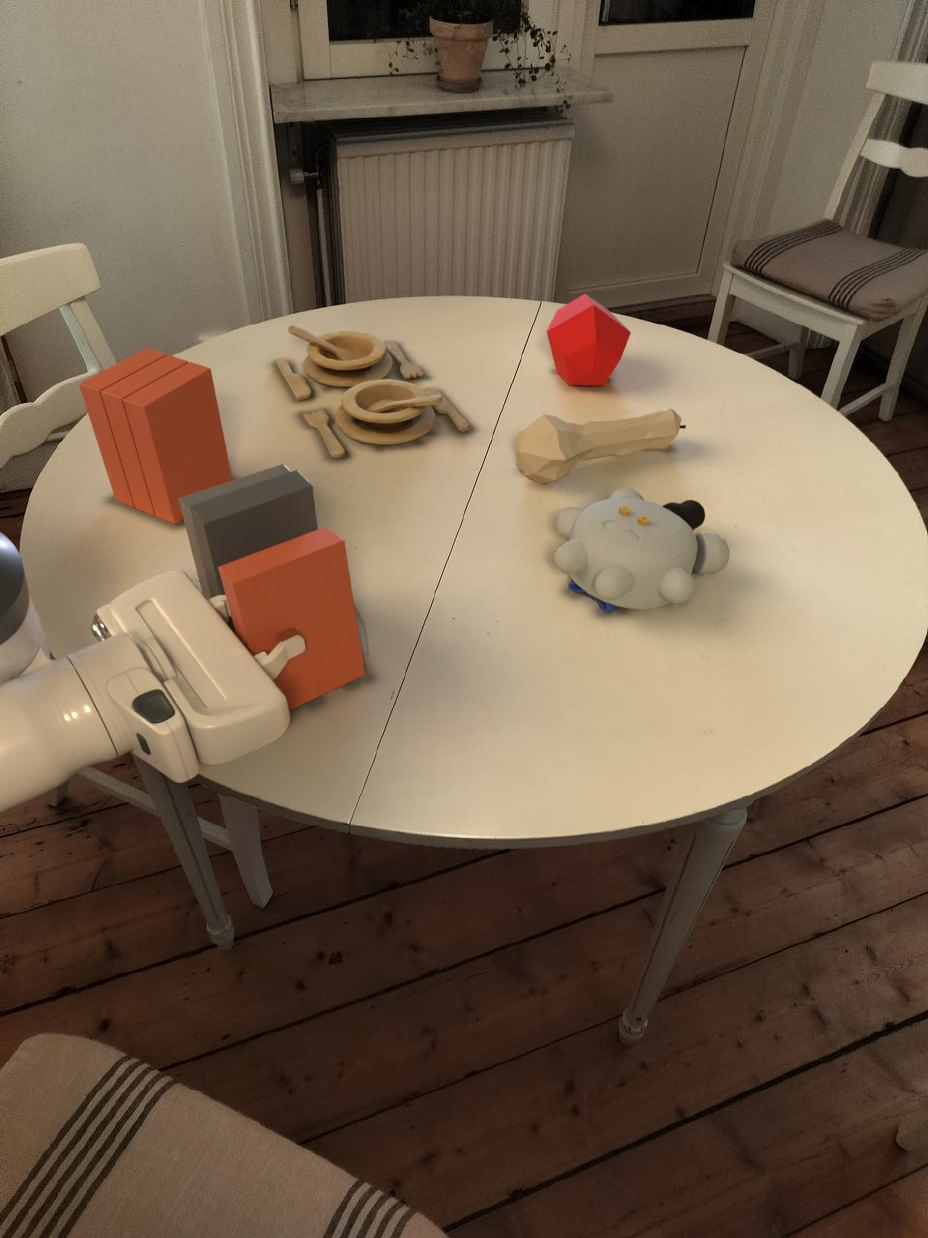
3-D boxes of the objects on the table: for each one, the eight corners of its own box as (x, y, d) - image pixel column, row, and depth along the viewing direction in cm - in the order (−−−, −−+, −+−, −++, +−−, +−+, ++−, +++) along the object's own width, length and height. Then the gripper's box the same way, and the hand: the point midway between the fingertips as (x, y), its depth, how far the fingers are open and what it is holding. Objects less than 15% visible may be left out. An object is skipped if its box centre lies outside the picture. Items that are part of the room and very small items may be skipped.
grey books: (236, 667, 79) (203, 523, 68) (211, 630, 83) (175, 488, 71) (329, 626, 84) (313, 485, 72) (302, 593, 87) (281, 453, 75)
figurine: (639, 655, 81) (746, 583, 93) (661, 585, 76) (771, 518, 87) (512, 570, 90) (624, 514, 102) (523, 502, 85) (640, 451, 96)
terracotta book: (268, 720, 74) (232, 583, 65) (254, 702, 76) (217, 566, 67) (365, 674, 78) (344, 539, 69) (350, 658, 80) (327, 525, 71)
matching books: (175, 524, 95) (144, 406, 85) (115, 500, 98) (78, 383, 88) (233, 482, 101) (210, 367, 91) (175, 460, 105) (147, 347, 94)
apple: (541, 400, 121) (533, 335, 129) (623, 405, 122) (610, 340, 130) (557, 331, 111) (547, 265, 119) (645, 337, 112) (630, 271, 121)
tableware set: (472, 432, 111) (473, 391, 107) (331, 462, 105) (327, 421, 101) (392, 340, 131) (391, 303, 127) (270, 361, 125) (264, 323, 121)
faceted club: (495, 456, 106) (657, 425, 114) (524, 506, 102) (688, 470, 111) (511, 403, 98) (682, 375, 107) (542, 455, 94) (717, 422, 103)
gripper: (92, 642, 74) (234, 582, 80) (190, 799, 63) (347, 714, 69) (71, 589, 70) (223, 530, 76) (172, 747, 58) (341, 662, 65)
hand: (283, 619), depth 72 cm, fingers open, 5 cm apart
